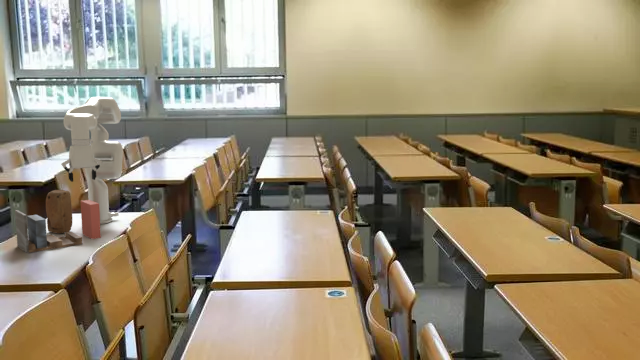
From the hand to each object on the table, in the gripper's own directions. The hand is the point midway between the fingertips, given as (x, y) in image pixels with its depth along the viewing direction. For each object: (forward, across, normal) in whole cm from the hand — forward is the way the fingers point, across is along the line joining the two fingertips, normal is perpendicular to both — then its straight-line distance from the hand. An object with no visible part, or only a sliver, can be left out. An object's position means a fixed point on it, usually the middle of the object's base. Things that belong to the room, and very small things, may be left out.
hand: (82, 180), depth 274 cm
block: (+27, +8, -15) cm, 32 cm away
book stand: (+26, +16, +7) cm, 32 cm away
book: (+26, -3, 0) cm, 27 cm away
